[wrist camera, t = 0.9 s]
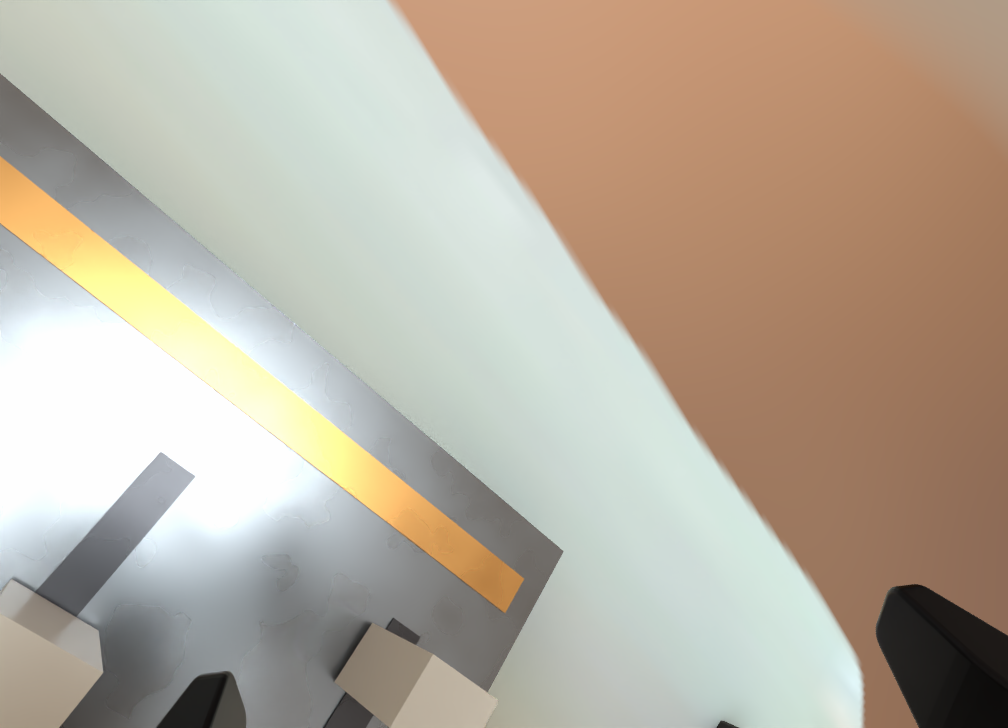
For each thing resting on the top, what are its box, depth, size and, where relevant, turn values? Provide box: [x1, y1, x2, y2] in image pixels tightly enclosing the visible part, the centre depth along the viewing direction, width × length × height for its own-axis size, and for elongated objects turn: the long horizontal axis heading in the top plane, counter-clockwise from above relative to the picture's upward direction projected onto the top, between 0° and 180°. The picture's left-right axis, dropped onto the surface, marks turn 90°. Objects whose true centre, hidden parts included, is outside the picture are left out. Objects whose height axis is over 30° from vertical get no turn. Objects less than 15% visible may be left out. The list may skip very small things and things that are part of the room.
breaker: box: [335, 623, 499, 728], centre depth 20 cm, size 2×2×4 cm
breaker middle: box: [0, 579, 103, 728], centre depth 15 cm, size 2×2×4 cm
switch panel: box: [0, 74, 563, 728], centre depth 18 cm, size 22×26×2 cm
